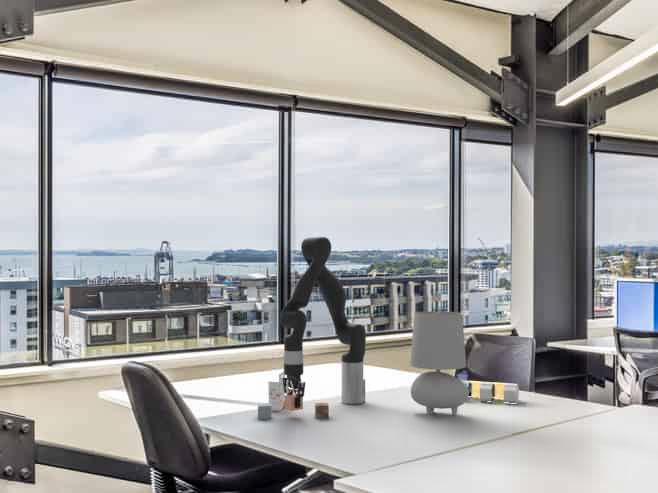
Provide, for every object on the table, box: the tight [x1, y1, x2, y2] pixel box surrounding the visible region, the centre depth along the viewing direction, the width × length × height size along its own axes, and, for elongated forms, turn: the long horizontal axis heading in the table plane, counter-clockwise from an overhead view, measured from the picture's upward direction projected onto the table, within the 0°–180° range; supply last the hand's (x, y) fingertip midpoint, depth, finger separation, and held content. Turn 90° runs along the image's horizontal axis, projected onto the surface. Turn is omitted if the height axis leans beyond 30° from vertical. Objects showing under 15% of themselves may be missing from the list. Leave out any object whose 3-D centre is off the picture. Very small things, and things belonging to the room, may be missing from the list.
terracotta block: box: [284, 393, 304, 412], centre depth 279 cm, size 5×5×5 cm
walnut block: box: [314, 402, 330, 420], centre depth 279 cm, size 5×5×5 cm
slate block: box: [257, 402, 272, 420], centre depth 278 cm, size 5×5×5 cm
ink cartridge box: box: [267, 371, 286, 412], centre depth 294 cm, size 9×5×15 cm, turn 168°
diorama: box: [457, 370, 520, 403], centre depth 311 cm, size 25×10×13 cm, turn 69°
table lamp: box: [410, 311, 469, 416], centre depth 284 cm, size 23×22×40 cm
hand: (293, 406), depth 279 cm, fingers closed on terracotta block, 5 cm apart
